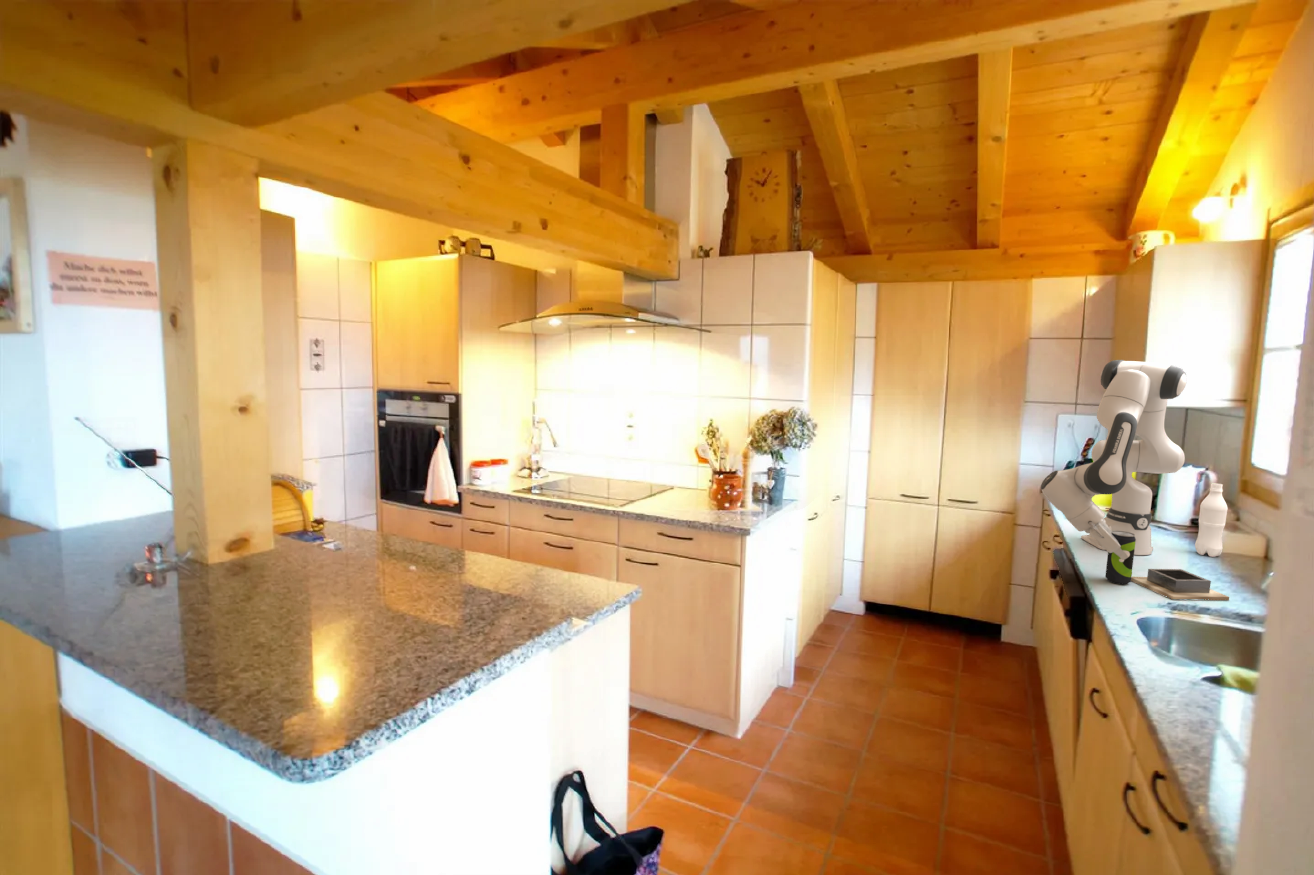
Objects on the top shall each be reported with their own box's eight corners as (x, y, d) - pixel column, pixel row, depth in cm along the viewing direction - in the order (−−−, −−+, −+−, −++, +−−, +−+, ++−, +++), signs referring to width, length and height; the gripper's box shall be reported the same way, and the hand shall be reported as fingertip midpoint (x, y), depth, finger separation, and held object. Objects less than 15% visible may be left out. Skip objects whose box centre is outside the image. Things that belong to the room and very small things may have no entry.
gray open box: (1146, 580, 189) (1148, 568, 188) (1179, 580, 189) (1181, 569, 188) (1174, 592, 179) (1176, 580, 178) (1209, 592, 179) (1210, 581, 178)
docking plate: (1129, 579, 192) (1129, 576, 191) (1180, 580, 192) (1180, 577, 192) (1172, 599, 176) (1173, 596, 176) (1228, 600, 176) (1229, 596, 176)
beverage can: (1108, 576, 194) (1113, 529, 192) (1132, 582, 189) (1138, 533, 187) (1102, 580, 190) (1107, 532, 188) (1127, 586, 185) (1133, 537, 183)
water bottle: (1227, 557, 215) (1236, 486, 212) (1207, 558, 215) (1216, 486, 212) (1207, 551, 222) (1217, 482, 219) (1188, 551, 222) (1197, 481, 219)
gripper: (1101, 519, 181) (1139, 558, 178) (1093, 505, 199) (1127, 540, 196) (1081, 532, 184) (1118, 570, 181) (1074, 517, 202) (1108, 551, 198)
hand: (1123, 554), depth 188 cm, fingers closed on beverage can, 6 cm apart
